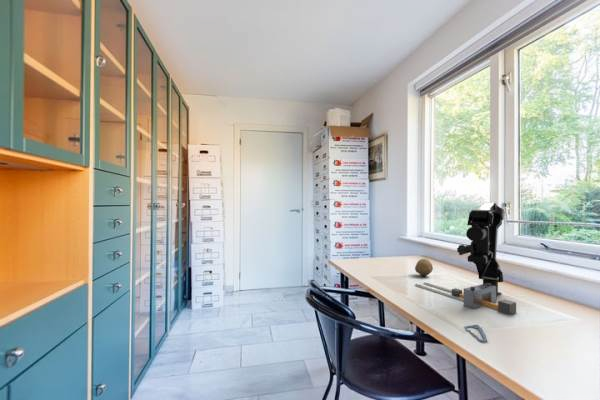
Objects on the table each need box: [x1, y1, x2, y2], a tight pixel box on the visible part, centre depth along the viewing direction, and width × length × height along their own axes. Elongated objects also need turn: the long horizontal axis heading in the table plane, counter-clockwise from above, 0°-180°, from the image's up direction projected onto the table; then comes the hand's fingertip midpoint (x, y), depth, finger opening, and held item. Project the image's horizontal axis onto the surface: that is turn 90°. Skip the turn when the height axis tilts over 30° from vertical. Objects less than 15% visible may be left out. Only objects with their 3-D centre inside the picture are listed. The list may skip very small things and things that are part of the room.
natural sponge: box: [414, 258, 434, 277], centre depth 157 cm, size 9×9×10 cm
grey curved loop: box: [464, 324, 488, 343], centre depth 88 cm, size 12×1×5 cm
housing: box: [414, 281, 497, 310], centre depth 126 cm, size 16×32×8 cm, turn 28°
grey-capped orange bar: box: [451, 287, 517, 316], centre depth 114 cm, size 24×4×4 cm, turn 28°
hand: (480, 277), depth 114 cm, fingers closed
